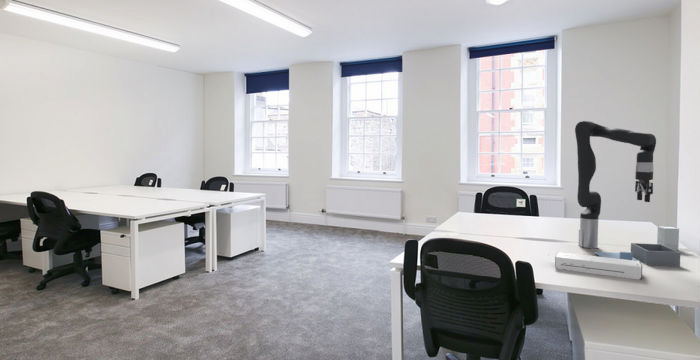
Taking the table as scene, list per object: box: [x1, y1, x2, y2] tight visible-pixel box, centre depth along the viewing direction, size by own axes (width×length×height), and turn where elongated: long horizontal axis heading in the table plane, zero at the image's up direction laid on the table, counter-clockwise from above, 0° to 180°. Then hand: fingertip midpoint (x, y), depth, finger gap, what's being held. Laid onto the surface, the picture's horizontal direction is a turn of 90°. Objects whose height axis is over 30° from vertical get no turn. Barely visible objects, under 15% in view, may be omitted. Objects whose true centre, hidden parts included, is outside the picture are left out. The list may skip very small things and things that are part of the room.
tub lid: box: [594, 251, 642, 264], centre depth 201 cm, size 15×21×7 cm
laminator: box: [554, 251, 643, 280], centre depth 184 cm, size 34×12×6 cm, turn 58°
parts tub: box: [630, 242, 681, 267], centre depth 199 cm, size 14×18×7 cm
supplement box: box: [656, 226, 680, 251], centre depth 223 cm, size 7×7×13 cm
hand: (643, 201), depth 206 cm, fingers open, 8 cm apart
